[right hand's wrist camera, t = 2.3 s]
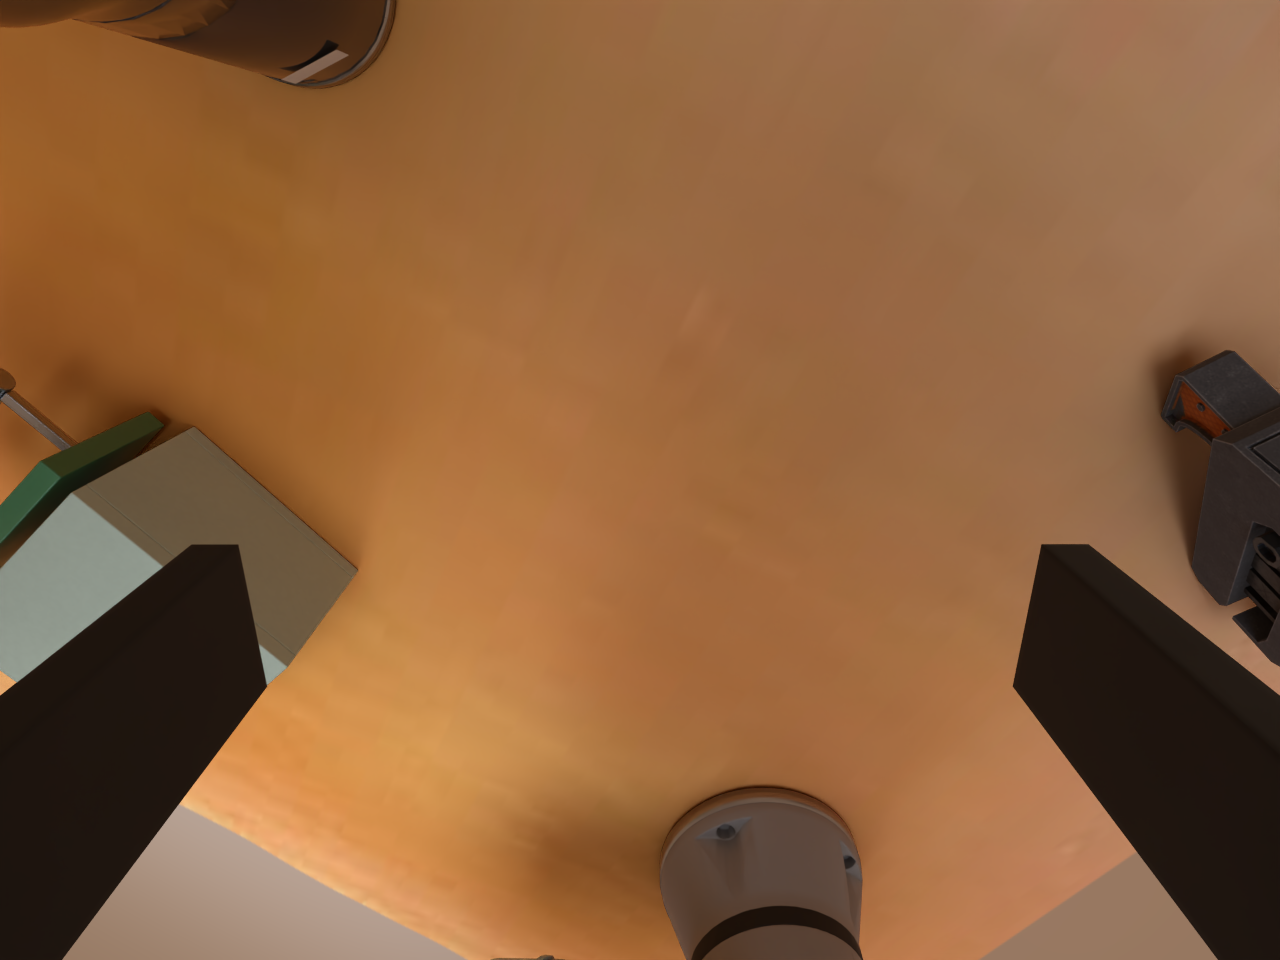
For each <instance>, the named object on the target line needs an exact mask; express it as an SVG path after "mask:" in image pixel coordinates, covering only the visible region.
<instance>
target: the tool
mask: <svg viewBox="0 0 1280 960" xmlns="http://www.w3.org/2000/svg"><path fill="white" fill-rule="evenodd" d="M1161 416H1162V419H1163V420H1164V421H1165V422H1166V423H1167V424H1168V425H1169V426H1170V427H1171V428H1172V429H1173V430H1174V431H1175V432H1178V431H1180V430H1182V429H1184V428H1188V429H1190V430H1192V431H1193V432H1194V433H1196V434H1197V435H1199V436H1200V437H1201V438H1202V439H1203V440H1205V441H1206V442H1207V443H1208V444H1209V445H1210V446H1211V453H1210V459H1209V465H1208V471H1207V477H1206V483H1205V489H1204V495H1203V501H1202V507H1201V513H1200V520H1199V526H1198V532H1197V538H1196V544H1195V550H1194V556H1193V562H1192V569H1193V571H1194V573H1195V575H1196V576H1197V578H1198V580H1199V582H1200V583H1201V584H1202V585H1203V586H1204V587H1205V589H1206V590H1207V591H1208V592H1209V593H1210V594H1211V596H1212V597H1213V598H1214V599H1215V600H1216V601H1217V602H1218V604H1219V605H1225V606H1227V605H1230V604H1232V603H1234V602H1236V601H1239V600H1241V599H1243V598H1246V597H1249V598H1250V599H1251V600H1252V601H1253V602H1254V603H1255V604H1256V605H1257V606H1256V607H1254V608H1251V609H1249V610H1247V611H1244V612H1242V613H1240V614H1237V615H1235V616H1233V618H1232V619H1233V620H1234V621H1235V622H1236V624H1237V625H1238V626H1239V627H1240V628H1241V629H1242V630H1243V631H1244V632H1245V633H1246V635H1247V636H1248V637H1249V638H1250V639H1251V640H1252V641H1253V642H1254V643H1255V644H1256V646H1257V647H1258V648H1259V649H1260V650H1261V651H1262V652H1263V653H1264V654H1265V655H1266V657H1267V658H1268V659H1269V660H1270V661H1271V662H1273V663H1274V664H1276V665H1278V666H1280V394H1279V393H1278V392H1277V391H1276V390H1275V389H1274V388H1273V387H1272V386H1270V385H1269V384H1268V383H1267V382H1266V381H1265V380H1264V379H1263V378H1262V377H1261V376H1260V375H1259V374H1258V373H1257V372H1256V371H1255V370H1254V369H1253V368H1252V367H1250V366H1249V365H1248V364H1247V363H1246V362H1245V361H1244V360H1243V359H1242V358H1241V357H1240V356H1239V355H1238V354H1237V353H1236V352H1235V351H1229V350H1226V351H1224V352H1222V353H1220V354H1218V355H1215V356H1213V357H1211V358H1209V359H1207V360H1205V361H1203V362H1201V363H1199V364H1197V365H1195V366H1193V367H1191V368H1189V369H1187V370H1185V371H1183V372H1181V373H1179V374H1177V375H1175V378H1174V381H1173V383H1172V386H1171V389H1170V392H1169V394H1168V397H1167V400H1166V403H1165V405H1164V408H1163V411H1162V413H1161Z"/></svg>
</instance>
